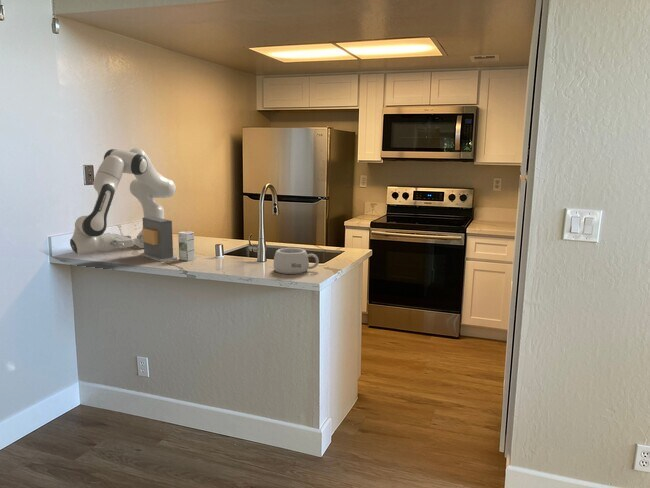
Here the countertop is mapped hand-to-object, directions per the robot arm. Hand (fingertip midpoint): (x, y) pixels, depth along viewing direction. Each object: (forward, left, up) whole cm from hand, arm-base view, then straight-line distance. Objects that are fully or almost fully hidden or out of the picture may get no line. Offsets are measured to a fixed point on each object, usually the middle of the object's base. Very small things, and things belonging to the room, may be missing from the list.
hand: (134, 238), depth 264 cm
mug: (+70, +46, -11) cm, 85 cm away
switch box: (0, +12, -11) cm, 17 cm away
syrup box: (+15, +20, -11) cm, 28 cm away
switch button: (0, +9, -3) cm, 9 cm away
